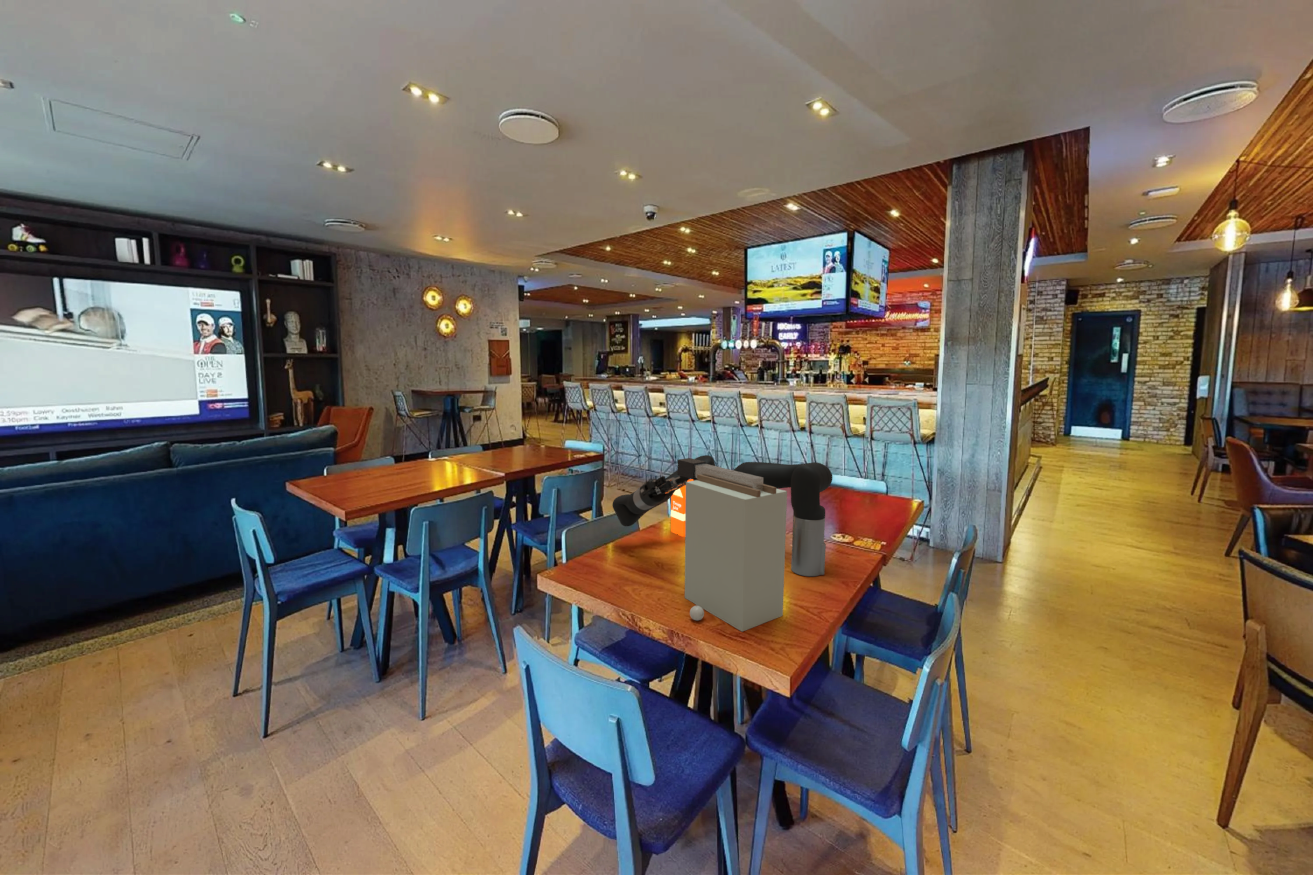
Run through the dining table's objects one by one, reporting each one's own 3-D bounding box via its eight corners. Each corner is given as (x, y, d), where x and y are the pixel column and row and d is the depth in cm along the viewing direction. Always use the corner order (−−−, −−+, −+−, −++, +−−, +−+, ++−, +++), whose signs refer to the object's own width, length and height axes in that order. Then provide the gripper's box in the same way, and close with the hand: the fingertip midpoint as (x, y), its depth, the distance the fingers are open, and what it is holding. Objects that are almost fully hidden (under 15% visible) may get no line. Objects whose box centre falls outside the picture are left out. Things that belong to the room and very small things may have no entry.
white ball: (703, 616, 131) (704, 603, 131) (703, 623, 128) (704, 609, 127) (689, 615, 131) (690, 602, 131) (689, 622, 128) (689, 609, 128)
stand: (683, 596, 142) (684, 475, 138) (722, 584, 150) (724, 469, 145) (742, 631, 124) (745, 493, 119) (782, 615, 132) (787, 485, 127)
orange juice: (701, 532, 196) (702, 480, 194) (683, 537, 191) (683, 483, 189) (689, 527, 203) (689, 476, 200) (670, 531, 198) (670, 479, 195)
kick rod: (677, 474, 148) (677, 459, 147) (689, 473, 151) (689, 457, 150) (751, 495, 125) (751, 477, 124) (764, 493, 127) (764, 475, 126)
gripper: (626, 486, 162) (652, 468, 149) (664, 480, 170) (691, 462, 157) (633, 509, 160) (660, 492, 147) (671, 502, 168) (699, 486, 155)
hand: (676, 477), depth 152 cm, fingers open, 8 cm apart
